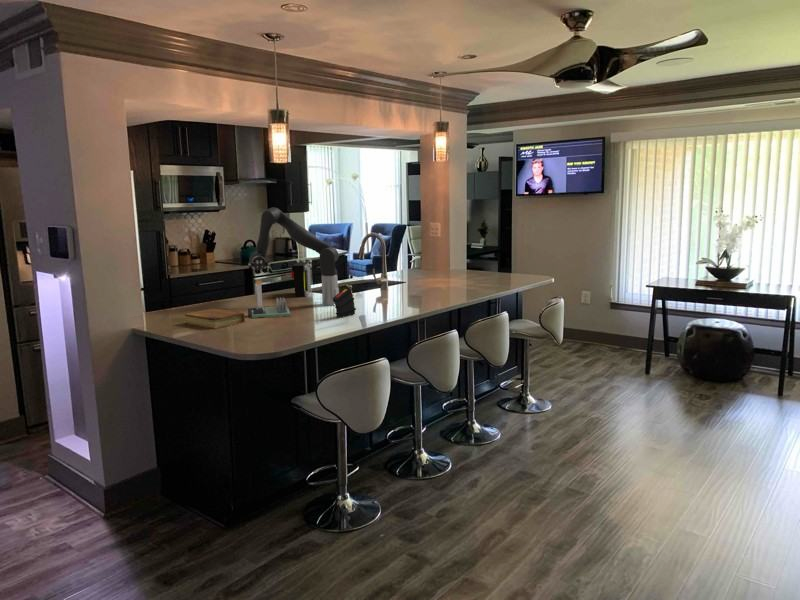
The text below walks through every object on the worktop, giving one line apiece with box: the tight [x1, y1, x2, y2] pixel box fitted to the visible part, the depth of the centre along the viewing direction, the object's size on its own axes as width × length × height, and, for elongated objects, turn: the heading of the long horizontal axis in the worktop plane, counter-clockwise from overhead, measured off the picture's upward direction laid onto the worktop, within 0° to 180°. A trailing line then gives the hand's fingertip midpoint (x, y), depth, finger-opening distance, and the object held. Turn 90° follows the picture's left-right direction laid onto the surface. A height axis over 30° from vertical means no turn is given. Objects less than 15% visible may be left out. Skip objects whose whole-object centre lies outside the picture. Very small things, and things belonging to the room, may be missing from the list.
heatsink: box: [247, 297, 287, 317], centre depth 329 cm, size 17×20×7 cm
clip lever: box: [253, 279, 264, 313], centre depth 323 cm, size 5×6×17 cm
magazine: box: [333, 286, 357, 318], centre depth 320 cm, size 4×13×15 cm, turn 138°
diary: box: [184, 307, 246, 330], centre depth 305 cm, size 23×19×6 cm
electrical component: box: [290, 261, 313, 298], centre depth 389 cm, size 18×10×20 cm, turn 179°
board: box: [251, 305, 292, 319], centre depth 329 cm, size 22×20×2 cm
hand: (259, 265), depth 340 cm, fingers closed
